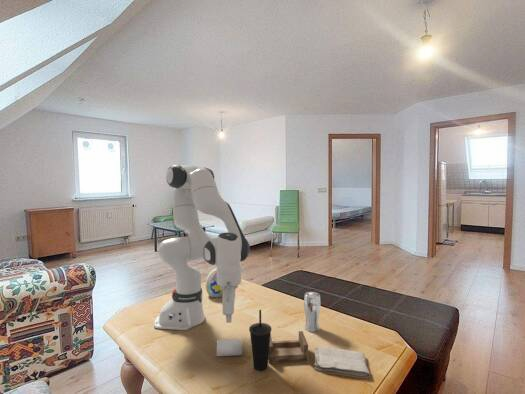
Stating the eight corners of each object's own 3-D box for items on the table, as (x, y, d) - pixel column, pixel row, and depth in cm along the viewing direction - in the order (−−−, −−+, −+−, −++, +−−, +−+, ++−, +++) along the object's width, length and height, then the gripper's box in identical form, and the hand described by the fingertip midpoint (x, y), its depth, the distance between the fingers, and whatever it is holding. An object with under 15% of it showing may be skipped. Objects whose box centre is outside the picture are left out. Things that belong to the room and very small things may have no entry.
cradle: (268, 363, 97) (268, 346, 97) (266, 347, 106) (266, 332, 106) (307, 361, 98) (307, 344, 98) (302, 346, 107) (302, 331, 107)
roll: (216, 358, 99) (216, 342, 100) (217, 353, 104) (218, 338, 105) (242, 357, 100) (241, 341, 101) (242, 352, 105) (242, 337, 106)
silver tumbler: (310, 322, 125) (310, 290, 124) (323, 328, 120) (323, 294, 119) (300, 328, 120) (300, 294, 119) (314, 334, 115) (314, 299, 114)
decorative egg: (205, 300, 150) (205, 273, 149) (205, 291, 162) (205, 266, 161) (228, 298, 152) (228, 271, 151) (226, 289, 164) (226, 265, 163)
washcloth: (314, 351, 105) (314, 343, 104) (364, 357, 101) (364, 349, 101) (314, 372, 93) (314, 364, 93) (370, 380, 89) (370, 371, 89)
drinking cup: (249, 360, 99) (248, 305, 98) (270, 359, 100) (270, 304, 98) (249, 375, 91) (249, 316, 90) (272, 373, 92) (272, 315, 91)
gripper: (237, 288, 90) (237, 329, 91) (238, 269, 111) (238, 303, 111) (217, 289, 90) (218, 330, 90) (222, 270, 110) (223, 304, 111)
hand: (229, 315), depth 101 cm, fingers open, 8 cm apart
